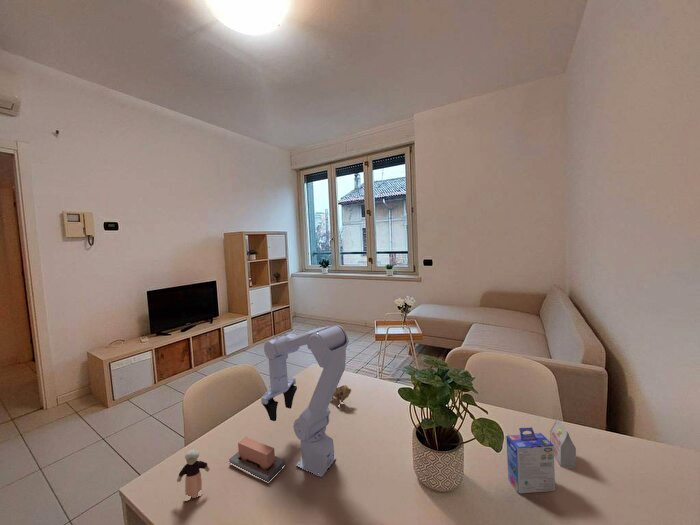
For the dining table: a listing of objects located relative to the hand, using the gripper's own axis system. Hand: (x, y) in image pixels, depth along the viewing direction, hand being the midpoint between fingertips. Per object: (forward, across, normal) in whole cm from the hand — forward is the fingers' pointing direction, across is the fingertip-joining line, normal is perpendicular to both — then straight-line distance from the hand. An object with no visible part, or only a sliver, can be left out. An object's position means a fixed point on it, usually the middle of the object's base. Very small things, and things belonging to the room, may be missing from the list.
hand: (281, 413), depth 95 cm
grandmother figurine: (+10, +26, -8) cm, 29 cm away
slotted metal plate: (+10, +12, 0) cm, 15 cm away
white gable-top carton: (+10, -29, +81) cm, 87 cm away
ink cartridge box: (+10, -15, +72) cm, 74 cm away
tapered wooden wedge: (+10, +12, 0) cm, 15 cm away
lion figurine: (+10, -28, +5) cm, 30 cm away
